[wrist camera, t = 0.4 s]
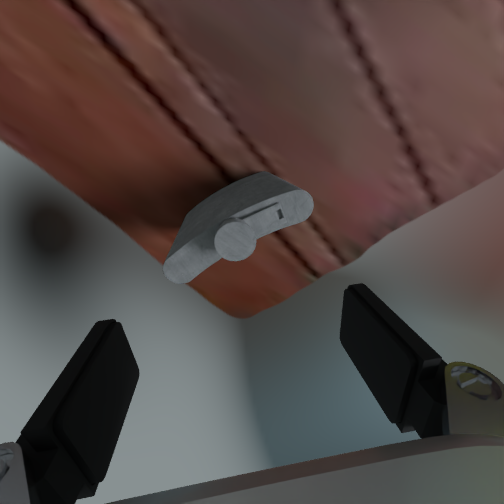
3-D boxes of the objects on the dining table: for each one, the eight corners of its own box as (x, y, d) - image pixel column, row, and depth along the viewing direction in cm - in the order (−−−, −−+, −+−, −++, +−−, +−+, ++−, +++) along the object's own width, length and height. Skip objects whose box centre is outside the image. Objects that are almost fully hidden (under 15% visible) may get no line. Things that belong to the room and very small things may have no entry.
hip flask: (192, 232, 40) (171, 303, 22) (178, 211, 38) (142, 270, 20) (276, 186, 39) (329, 220, 20) (266, 162, 37) (313, 177, 19)
